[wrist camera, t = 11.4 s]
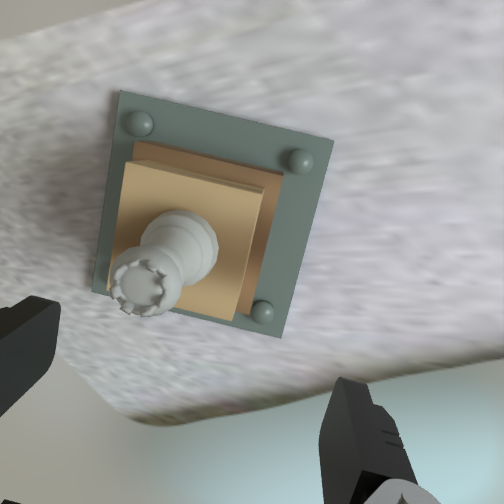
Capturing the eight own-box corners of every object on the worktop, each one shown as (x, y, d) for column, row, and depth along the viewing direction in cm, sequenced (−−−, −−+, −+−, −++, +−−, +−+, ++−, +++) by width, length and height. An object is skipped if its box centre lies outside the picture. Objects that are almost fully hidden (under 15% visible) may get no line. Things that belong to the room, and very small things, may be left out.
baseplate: (125, 91, 33) (116, 88, 31) (332, 140, 32) (335, 140, 31) (96, 287, 37) (87, 295, 35) (281, 333, 37) (280, 342, 35)
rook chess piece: (218, 208, 25) (188, 237, 18) (221, 281, 26) (193, 339, 19) (143, 207, 26) (81, 236, 18) (148, 280, 27) (91, 337, 19)
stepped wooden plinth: (153, 141, 33) (111, 140, 25) (283, 172, 32) (282, 181, 25) (132, 266, 35) (88, 301, 27) (253, 296, 35) (244, 339, 27)
